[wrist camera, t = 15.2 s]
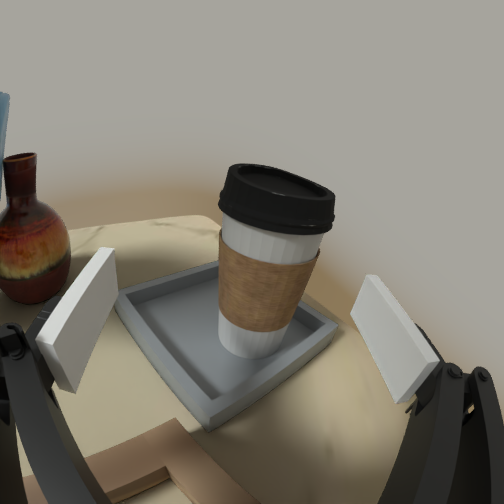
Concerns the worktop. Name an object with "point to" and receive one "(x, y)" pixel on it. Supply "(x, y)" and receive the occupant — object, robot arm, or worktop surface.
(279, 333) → the coffee cup
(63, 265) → the vase
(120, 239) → the worktop surface
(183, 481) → the square wooden frame
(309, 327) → the tray
